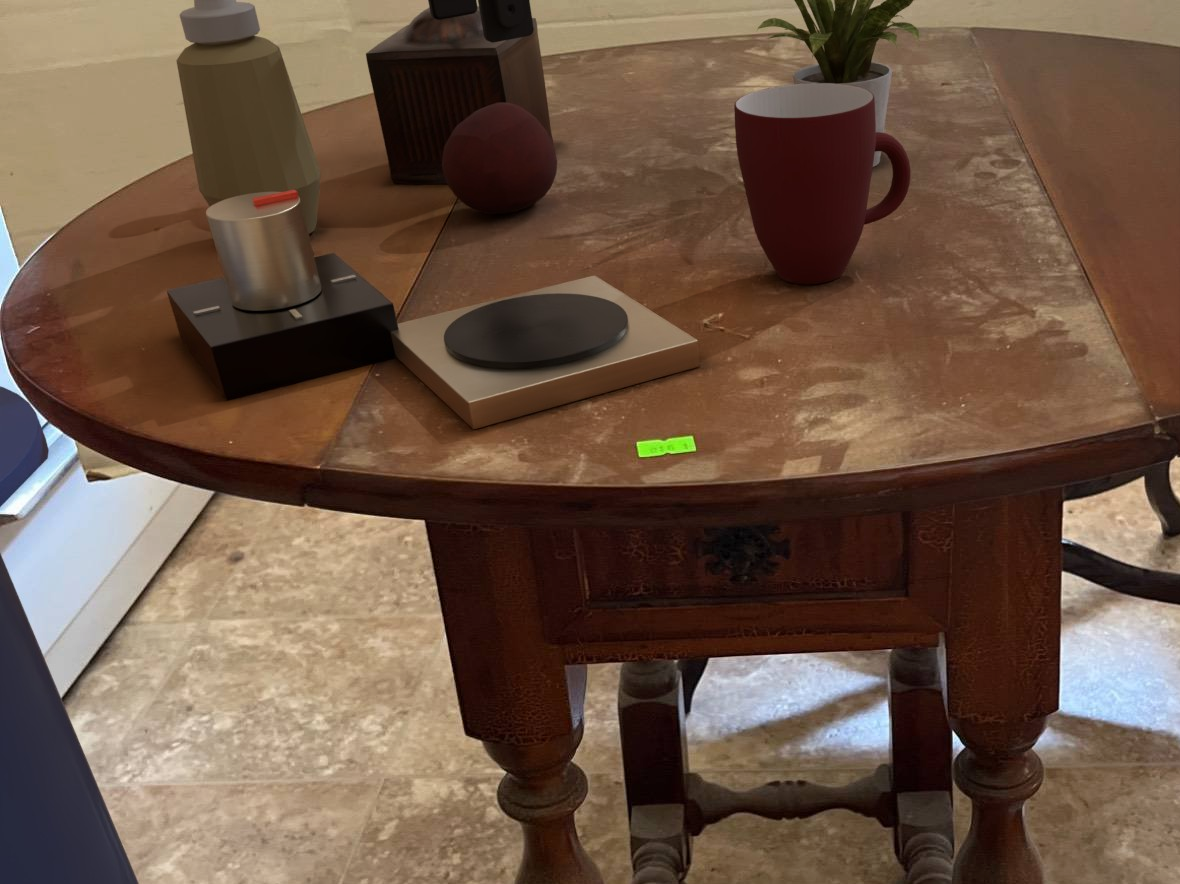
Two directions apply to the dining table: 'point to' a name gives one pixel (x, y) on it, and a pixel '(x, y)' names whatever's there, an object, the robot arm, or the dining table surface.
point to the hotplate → (541, 350)
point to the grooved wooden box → (447, 87)
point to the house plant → (848, 46)
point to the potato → (499, 159)
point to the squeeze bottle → (243, 109)
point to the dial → (264, 250)
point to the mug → (813, 174)
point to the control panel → (285, 331)
